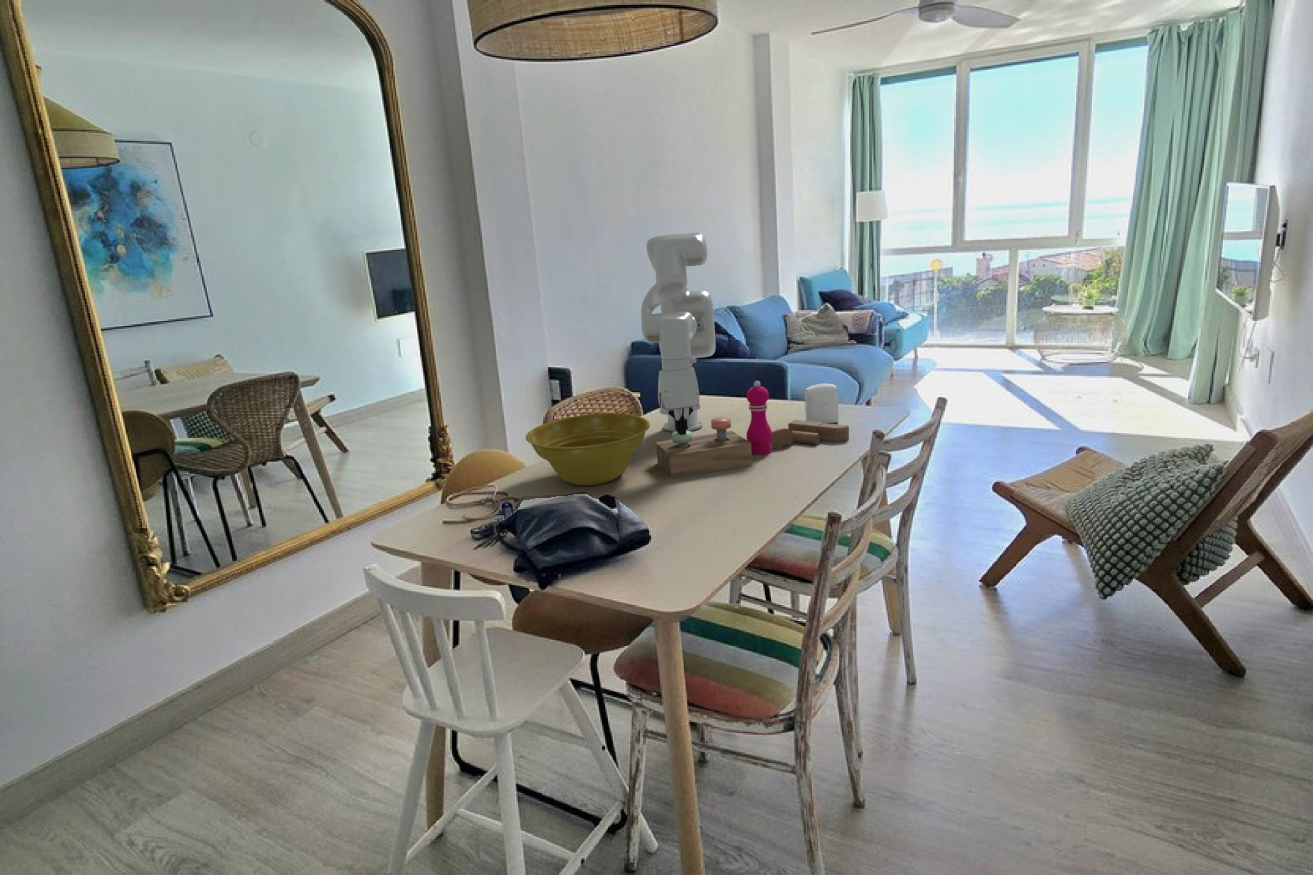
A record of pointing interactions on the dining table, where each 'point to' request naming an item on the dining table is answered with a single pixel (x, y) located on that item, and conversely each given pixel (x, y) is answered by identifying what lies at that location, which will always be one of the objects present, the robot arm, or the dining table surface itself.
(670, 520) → the dining table surface
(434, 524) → the dining table surface
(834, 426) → the wooden block set
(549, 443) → the planter bowl
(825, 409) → the photo printer
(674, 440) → the green button
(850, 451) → the dining table surface
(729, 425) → the red button
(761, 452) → the pepper mill
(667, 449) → the button panel
